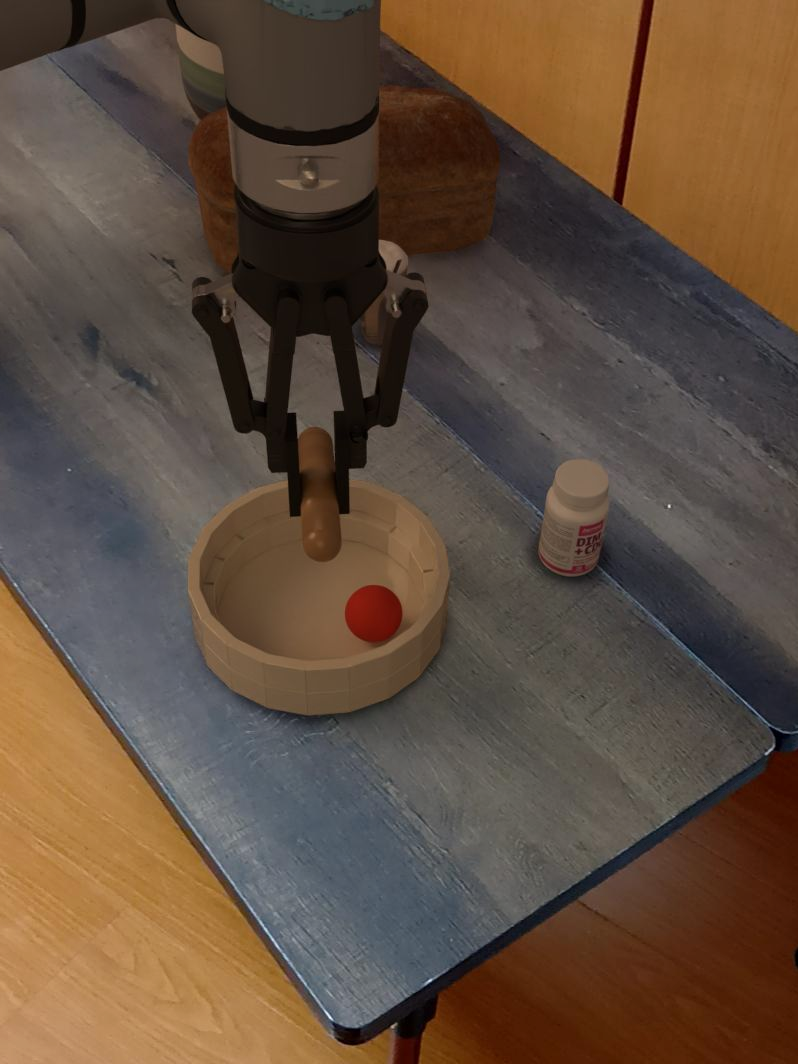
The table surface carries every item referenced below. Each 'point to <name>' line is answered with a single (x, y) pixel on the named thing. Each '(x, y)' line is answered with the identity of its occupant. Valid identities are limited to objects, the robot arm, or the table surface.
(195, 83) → the vase
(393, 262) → the milkshake
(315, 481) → the sausage
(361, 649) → the bowl
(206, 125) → the bread
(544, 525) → the pill bottle
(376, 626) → the red ball
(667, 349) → the table surface
